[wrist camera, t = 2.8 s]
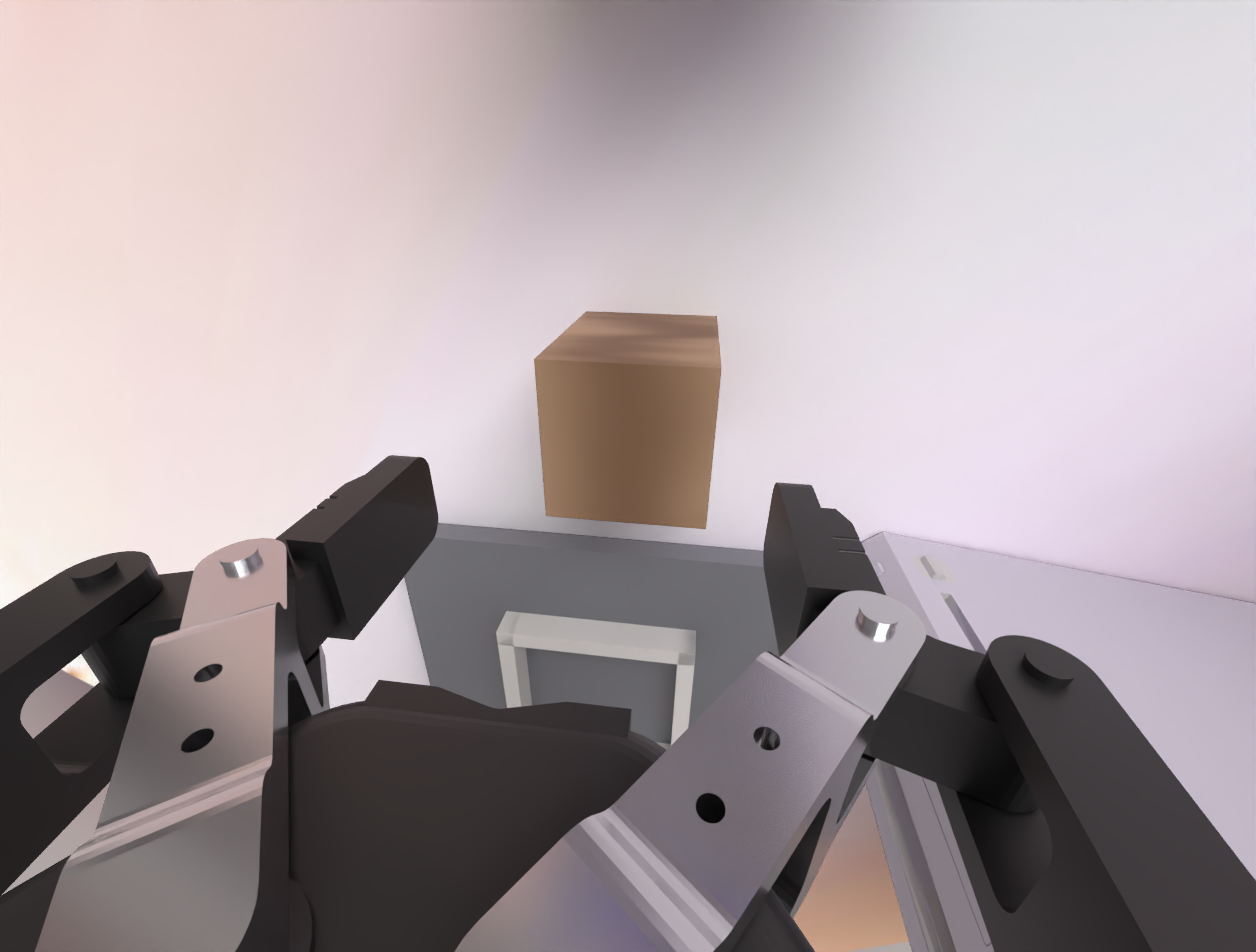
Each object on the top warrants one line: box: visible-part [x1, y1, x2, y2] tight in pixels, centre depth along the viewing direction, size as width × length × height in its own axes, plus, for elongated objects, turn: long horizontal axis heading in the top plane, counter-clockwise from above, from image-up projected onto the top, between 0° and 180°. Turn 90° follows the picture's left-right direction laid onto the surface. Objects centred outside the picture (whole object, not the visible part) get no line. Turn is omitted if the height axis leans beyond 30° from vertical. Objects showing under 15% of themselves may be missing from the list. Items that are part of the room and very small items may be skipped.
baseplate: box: [404, 523, 779, 750], centre depth 28 cm, size 20×18×3 cm
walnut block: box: [534, 312, 721, 529], centre depth 18 cm, size 5×5×7 cm
